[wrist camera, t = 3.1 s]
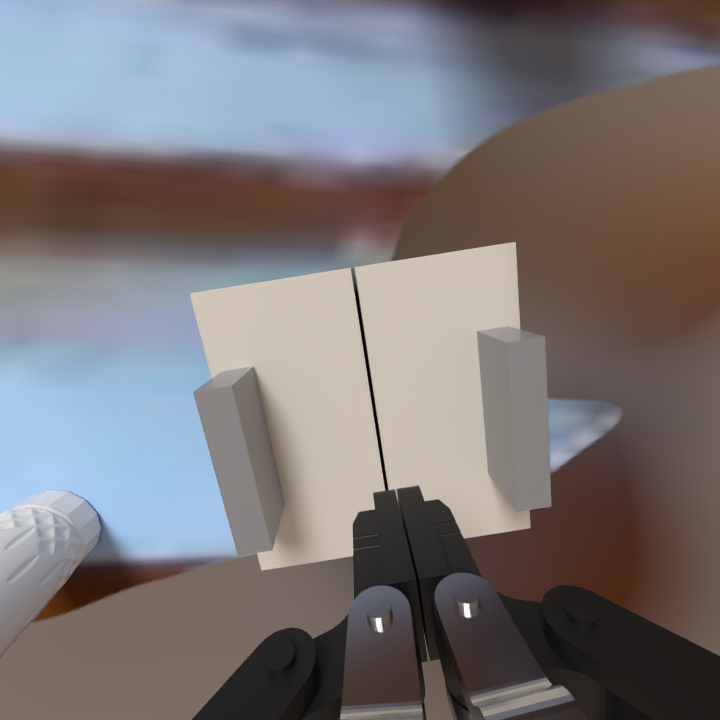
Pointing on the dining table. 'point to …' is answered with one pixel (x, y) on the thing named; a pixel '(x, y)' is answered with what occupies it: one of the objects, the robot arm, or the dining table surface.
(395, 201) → the dining table surface
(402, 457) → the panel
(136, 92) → the dining table surface
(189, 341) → the dining table surface
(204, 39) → the dining table surface
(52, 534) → the white cup
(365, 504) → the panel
